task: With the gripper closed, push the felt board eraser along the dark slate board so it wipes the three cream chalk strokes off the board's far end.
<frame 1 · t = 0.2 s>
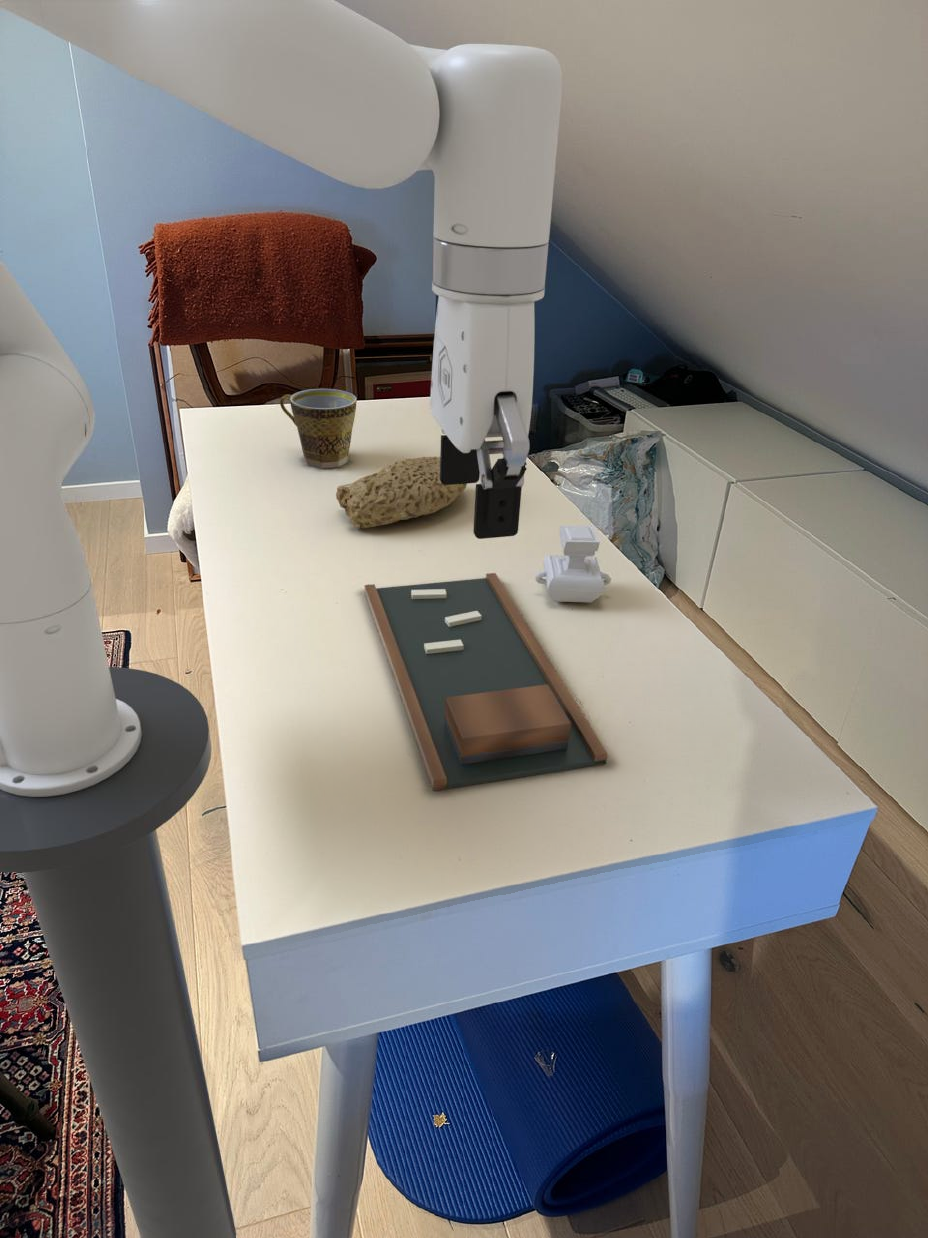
hand: (476, 507, 66), 24 cm above the table, tool pointing down, fingers open, 9 cm apart
chalk stroke 2: (463, 621, 96), point 1 cm above the table, touching slate board
ceramic cup: (318, 460, 136), on the table
slate board: (469, 667, 89), on the table
sponge: (408, 511, 121), on the table
chalk stroke 3: (428, 596, 100), point 1 cm above the table, touching slate board
eraser: (505, 736, 79), point 1 cm above the table, touching slate board
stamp: (570, 596, 103), on the table
chalk stroke 1: (443, 649, 91), point 1 cm above the table, touching slate board
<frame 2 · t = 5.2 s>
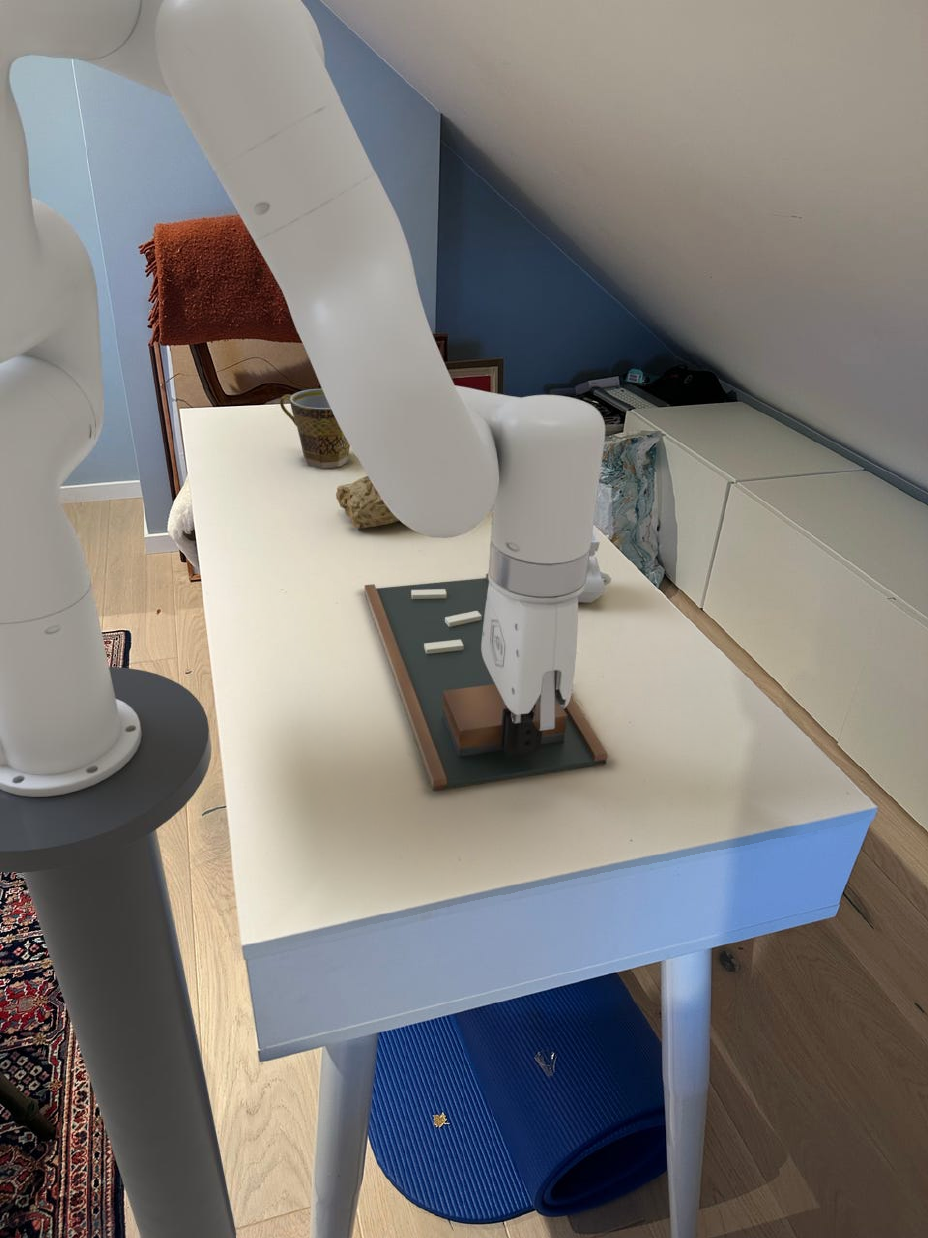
hand: (520, 747, 75), 2 cm above the table, tool pointing down, fingers closed
eraser: (502, 728, 80), point 1 cm above the table, touching gripper, slate board
everything else where it was.
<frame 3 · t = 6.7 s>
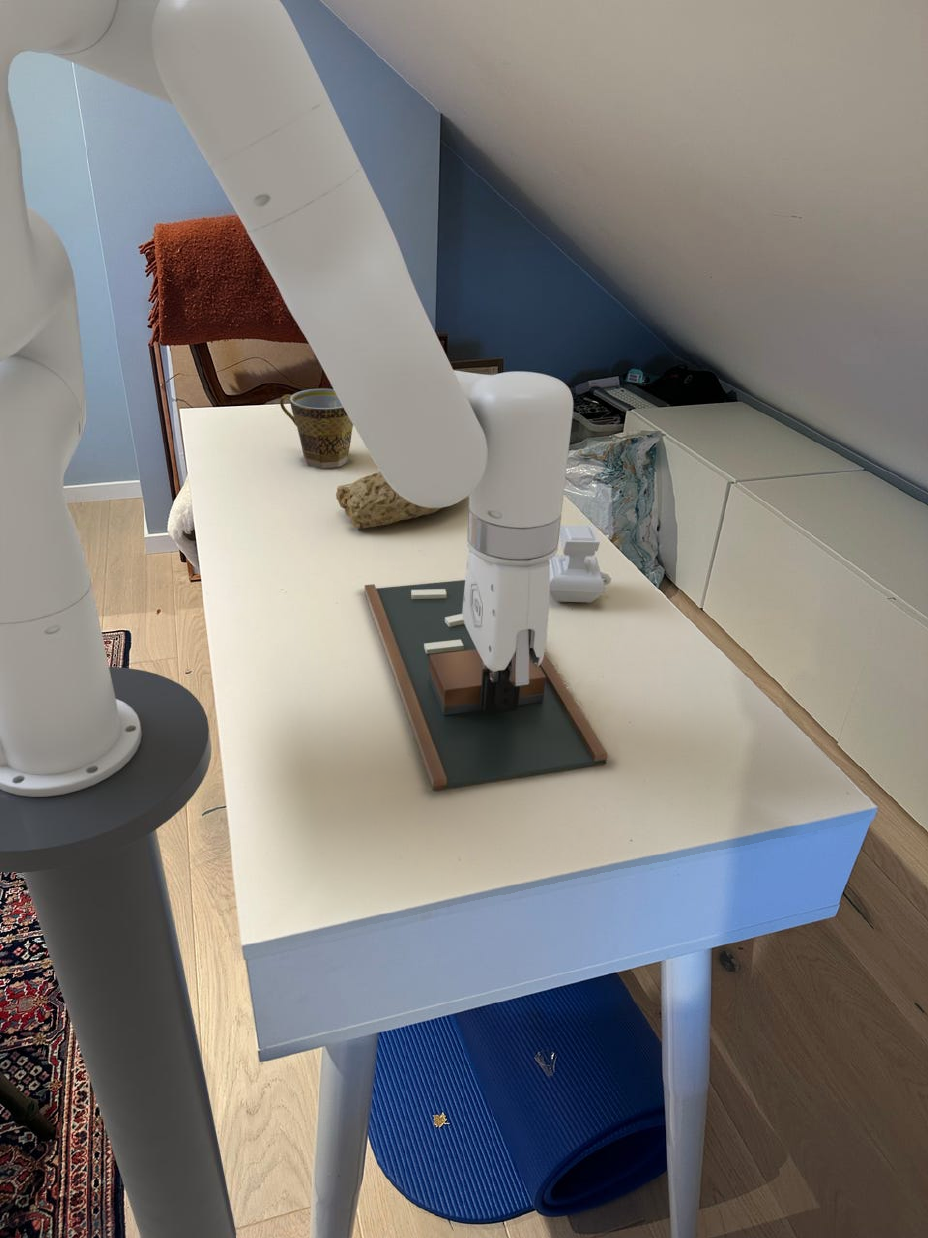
hand: (498, 706, 80), 2 cm above the table, tool pointing down, fingers closed
eraser: (485, 690, 85), point 1 cm above the table, touching gripper
everything else where it was.
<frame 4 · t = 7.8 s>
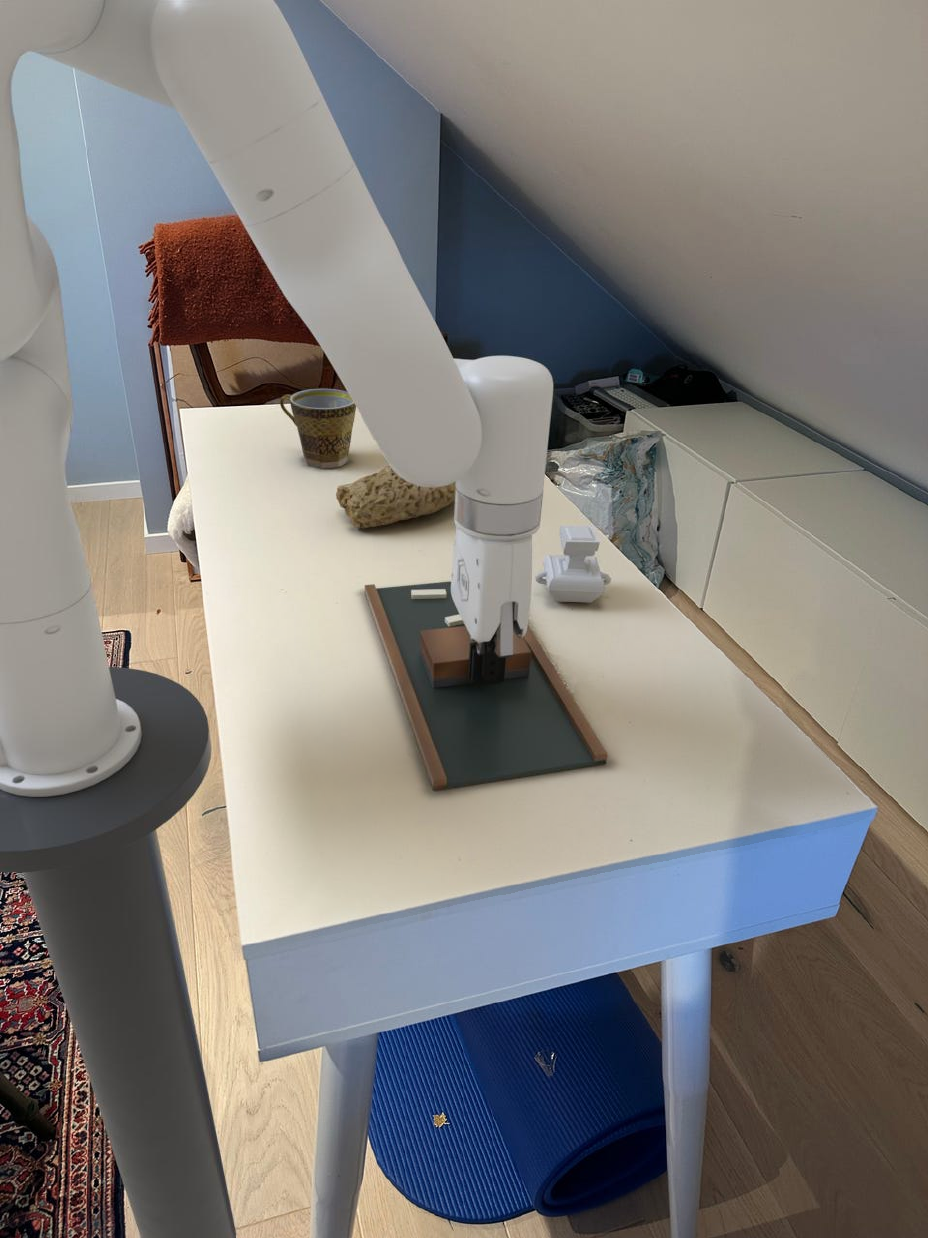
hand: (485, 679, 84), 2 cm above the table, tool pointing down, fingers closed
eraser: (473, 665, 88), point 1 cm above the table, touching gripper
chalk stroke 1: (443, 648, 91), point 1 cm above the table
everything else where it was.
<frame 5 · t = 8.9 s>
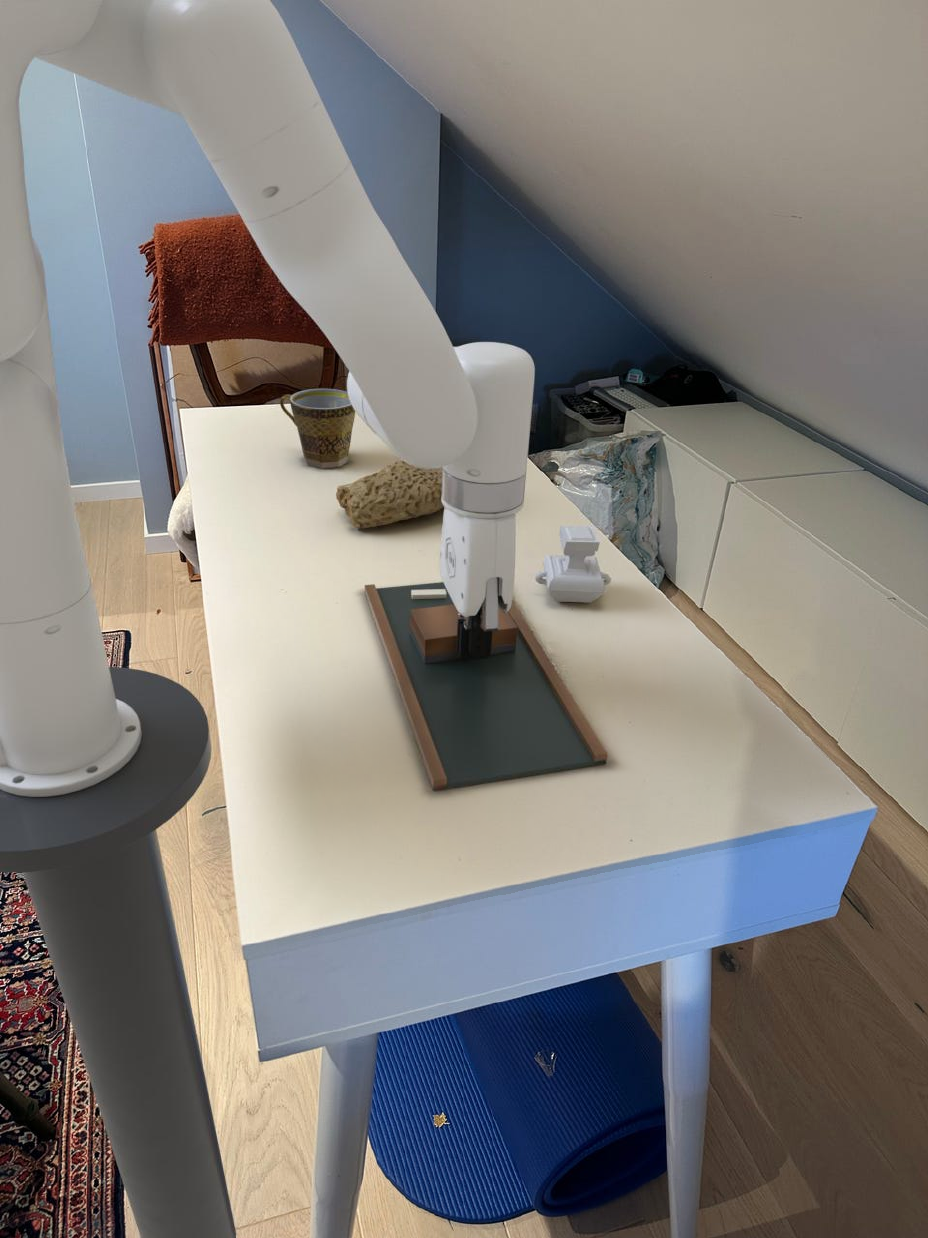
hand: (473, 654, 87), 2 cm above the table, tool pointing down, fingers closed
chalk stroke 2: (461, 617, 96), point 1 cm above the table, touching chalk stroke 1, slate board
eraser: (462, 642, 92), point 1 cm above the table, touching gripper, slate board
chalk stroke 1: (432, 627, 94), point 1 cm above the table, touching chalk stroke 2, slate board
everything else where it was.
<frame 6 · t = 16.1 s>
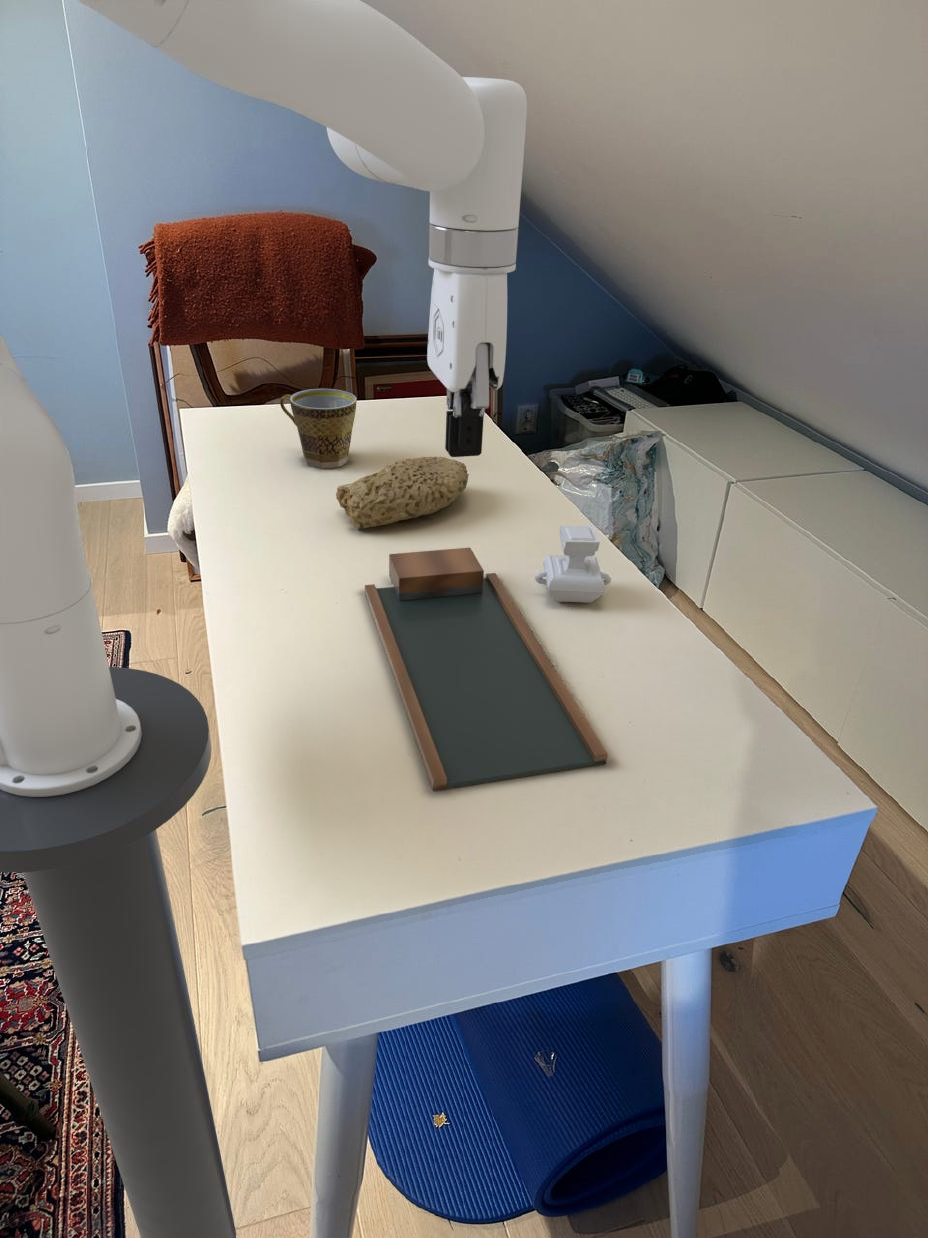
hand: (463, 452, 83), 21 cm above the table, tool pointing down, fingers closed
chalk stroke 2: (447, 583, 104), on the table
chalk stroke 3: (419, 575, 104), point 1 cm above the table, tilted 180°
eraser: (435, 584, 102), point 1 cm above the table, touching slate board
chalk stroke 1: (410, 586, 103), on the table
everything else where it was.
at the end: chalk stroke 1 inside the target area on the table beside the slate board (9.6 cm from its centre), on the table; chalk stroke 2 inside the target area on the table beside the slate board (9.5 cm from its centre), on the table; chalk stroke 3 inside the target area on the table beside the slate board (8.1 cm from its centre), point 0.6 cm above the table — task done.
